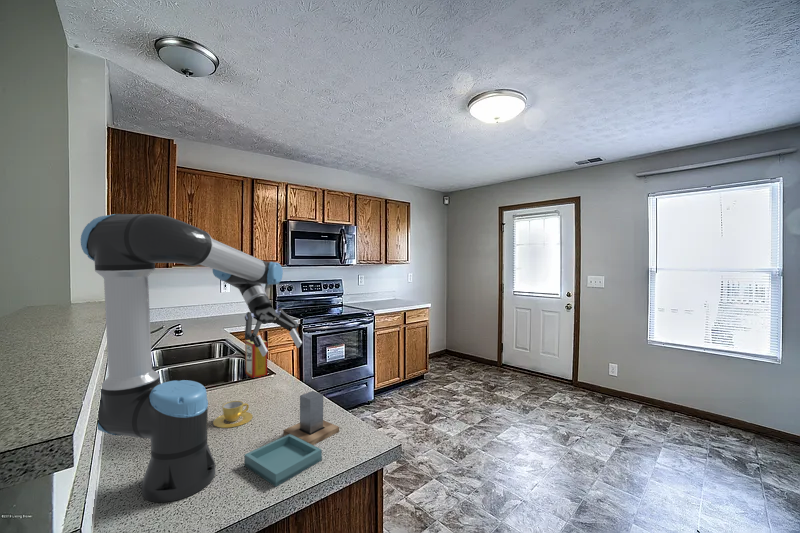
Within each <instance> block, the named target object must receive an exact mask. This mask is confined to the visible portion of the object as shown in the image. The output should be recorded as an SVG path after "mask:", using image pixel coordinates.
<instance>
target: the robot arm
mask: <svg viewBox="0 0 800 533" xmlns="http://www.w3.org/2000/svg"><path fill="white" fill-rule="evenodd" d="M80 247H81V250H82V252H83V253H84V254H85V255H86V256H87V257H88V259H90V260H91V261H93V262H94V271H95V273H96V274H98V275H99V276H101V277H102V279H103V284H104V285H103V286H104V306H105V308H104V311H105V326H106V329H105V330H106V346H107V352H106V353H107V367H108V368H107V370H108V377H107V378H106V379H105V380H104V381H103V382H101V384H102V389H101V388H100V390H101V400H100V408H99V420H98V429H97V430H98V431H99V432H103V433H107V434H108V435H112V436H125V437H133V438H142V439H147V440H150V458H149V461H148V465H147V468H146V469H145V470H146V471H145V474H144V475H143V479H142V482H141V495H142V497H143V498H144V499H145V500H147V501H148V502H149V501H150V502H153V503H169V502H174V501H178V500H181V499H185V498H187V497H190V496H193V495H194V494H196V493H198V492H200V491H201V490H203V489H204V488H207V486H208V485H209V484H211V482H213V480H214V479H215V476H216V462H215V459H214V457H213V454H212V451H211V450H210V447H209V444H208V415H209V414H208V411H209V410H208V409H209V408H208V407H209V402H208V401H209V400H208V392H207V389H206V387H205V386H204V385H203V384H202V383H200V382H198V381H195V380H190V379H189V380H187V379H186V380H185V379H182V380H181V379H180V380H178V379H177V380H176V379H175V380H169V381H168V380H167V381H165V382H162V383H160V381H161V380H160V374H159V372H157V371H156V370H154V369H153V364H152V362H153V361H152V360H153V358H152V343H151V342H152V337H151V336H152V335H151V315H150V314H151V313H150V293H149V292H150V288H149V287H150V286H149V276H150V275H151V274H152V273H153V272H154V271H155V270H156V264H158V263H159V264H161V263H162V264H163V263H165V264H168V263H169V264H183V265H186V266H190V267H194V266H195V267H197V266H203V267H206V268H210V269H212V273H213V276H214V277H215V278H217V279H218V280H220V281H221V282H224V283H226V284H228V285H229V286H230V285H231V286H232V287H234V288H236V289H237V290H238V291H239V293H240V294H241V296H242V297H243V299H244V302H245V303H246V306H247V308H248V310H249V311H247V312H246V314H245V315H244V319H245V330H244V331H245V332H244V339H245V340H250V341H251V342H252V341H253V343H254V345H255V347H258V348H259V350H260V352H261V354H262V356H265V355H266V353H267V354H268V353H269V350H268V347H267V348H266V346H265V344H264V342H263V340H264V339H262V336H261V335H260V334H259V331H260V328H261V326H262V324H263V325H265V324H271V323H272V324H276V325H278V326H280V327H282V328H283V329H285V330H287V331H288V332H289V333H288V334H289V335H290V337H291V340H292V341H293V343H294V345H295V347H296V349H298V348H300V347H301V345H302V344H303V341H302V340H301V338H300V333H299V332H298V330H297V329H298V328H299V326H300V324H299V323H298V322H297V321H296V320H294V319H293V318H292V317H291V316H290V315H289V314H287V313H286V312H285V311H284V309H283V308H282V307H279V308H278V309H274V308H273V304H272V301H271V300H270V299H269V297H268V294H267V293H266V290H265V288H264V287H263V285H268V286H270V285H278V284H280V283H281V281H282V279H283V275H284V272H283V267H282V265H281V264H280V263H279V262H275V261H264V260H262V259H260V258H257V257H255V256H253V255H250V254H248V253H246V252H243V251H242V250H239V249H237V248H234V247H232V246H230V245H228V244H225V243H223V242H221V241H218V240H217V239H215V238H212V236H211V235H210V233H208V232H207V231H205V230H204V229H201V228H199V227H197V226H195V225H192V224H190V223H187V222H185V221H182V220H179V219H177V218H174V217H171V216H168V215H163V214H157V213H145V214H143V213H140V214H139V213H137V214H136V213H134V214H133V213H128V214H127V213H123V214H122V213H114V214H108V215H106V214H105V215H101V216H97V217H95V218H93V219H92V220H91V221H90V222H89V223H87V224H86V225H85V226H84V227H83V230H82V232H81V236H80ZM253 319H254V320H256V323H255V326H254V329H252V328H253V325H252V324H253ZM252 330H253V331H252ZM258 334H259V335H258Z"/></svg>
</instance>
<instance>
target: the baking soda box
mask: <svg viewBox="0 0 800 533" xmlns="http://www.w3.org/2000/svg"><path fill="white" fill-rule="evenodd" d="M262 340H263V342H264V344H265V346H266V348H267V349H268V341H266V340H264V339H262ZM244 345H245V348H244V349H245V350H244V351H245V353H244V355H245V356H244V358H245V359H244V360H245V362H244V363H245V364H244V366H245V375H247V376H248V377H249V378H251V379H252V378H254V377H259V378H262V377H261V376H264V375H267V376H268V352H267V353H266V355H265V356H262V354H261V352H260V350H259V348H258V347H255V345H254V343H253V341H252V342H251V341H250V339H247V340H246V339H245V341H244ZM264 377H265V376H264Z"/></svg>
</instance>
